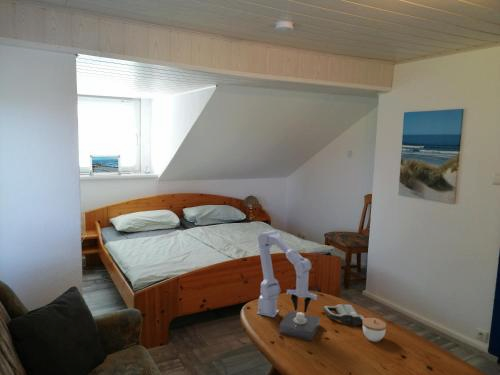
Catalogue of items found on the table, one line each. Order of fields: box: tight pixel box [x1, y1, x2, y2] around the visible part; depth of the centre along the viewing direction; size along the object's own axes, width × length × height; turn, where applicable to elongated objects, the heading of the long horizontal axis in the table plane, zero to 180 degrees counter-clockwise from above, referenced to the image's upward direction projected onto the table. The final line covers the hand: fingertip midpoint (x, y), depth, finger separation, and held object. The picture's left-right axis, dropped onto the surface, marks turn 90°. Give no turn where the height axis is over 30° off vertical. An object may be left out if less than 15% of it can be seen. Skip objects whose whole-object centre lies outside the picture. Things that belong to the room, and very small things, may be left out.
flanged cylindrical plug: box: [293, 312, 307, 325], centre depth 185 cm, size 7×7×6 cm
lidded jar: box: [362, 317, 387, 343], centre depth 179 cm, size 11×11×9 cm
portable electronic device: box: [322, 303, 366, 326], centre depth 196 cm, size 16×20×5 cm
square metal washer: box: [278, 310, 320, 341], centre depth 185 cm, size 16×16×4 cm
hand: (300, 310), depth 184 cm, fingers open, 4 cm apart
